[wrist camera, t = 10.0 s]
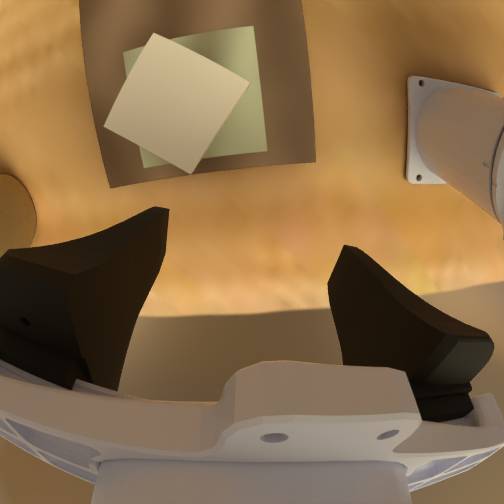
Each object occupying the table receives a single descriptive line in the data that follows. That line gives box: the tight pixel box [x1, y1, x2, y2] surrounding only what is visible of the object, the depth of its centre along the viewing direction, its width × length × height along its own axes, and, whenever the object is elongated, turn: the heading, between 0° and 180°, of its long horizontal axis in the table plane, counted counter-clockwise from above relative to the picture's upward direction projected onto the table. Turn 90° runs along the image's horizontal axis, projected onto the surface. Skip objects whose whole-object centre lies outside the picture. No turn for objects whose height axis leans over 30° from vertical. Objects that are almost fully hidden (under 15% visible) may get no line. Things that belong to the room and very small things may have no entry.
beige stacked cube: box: [104, 33, 252, 174], centre depth 14 cm, size 5×5×5 cm
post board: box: [79, 0, 316, 188], centre depth 12 cm, size 14×22×5 cm, turn 6°
